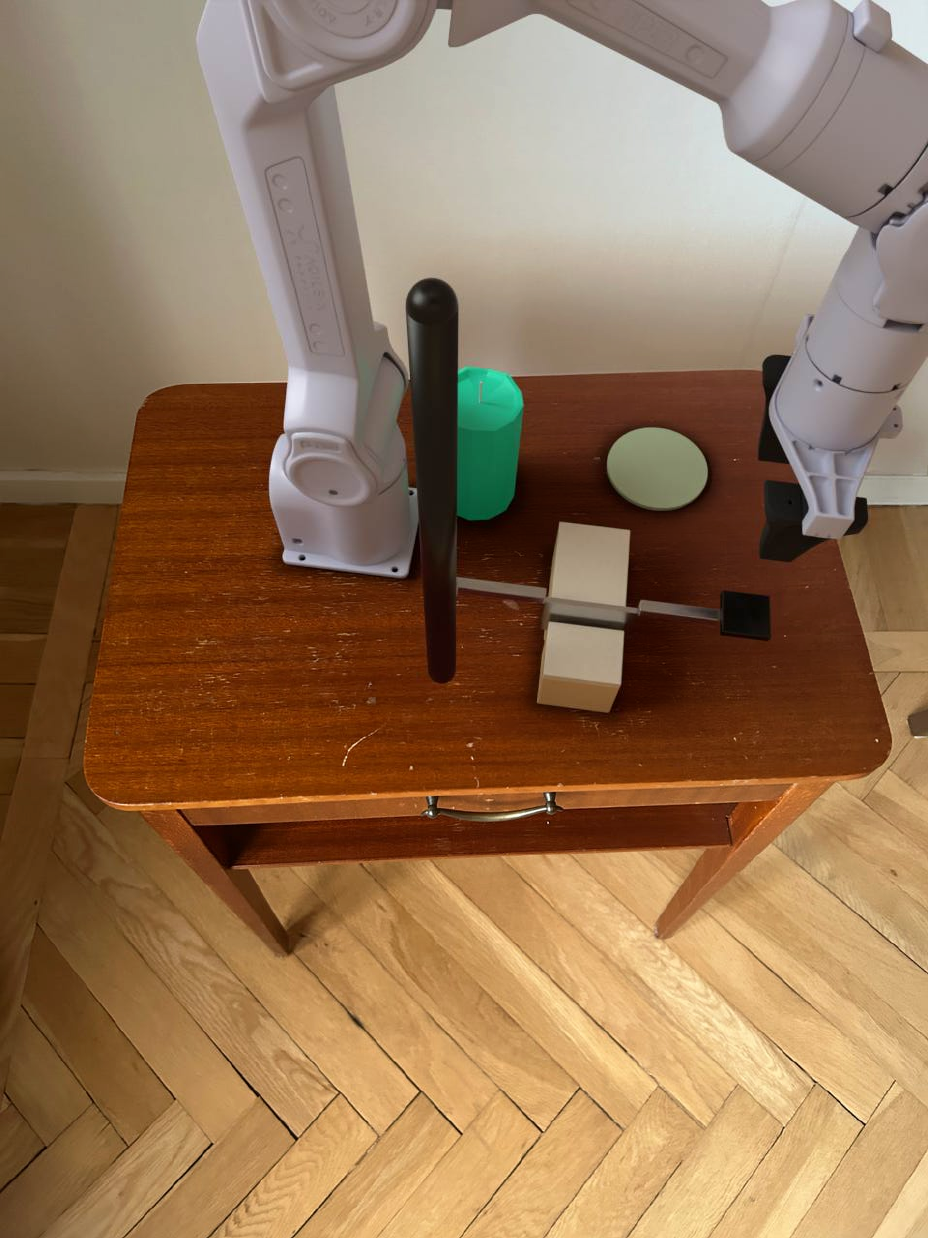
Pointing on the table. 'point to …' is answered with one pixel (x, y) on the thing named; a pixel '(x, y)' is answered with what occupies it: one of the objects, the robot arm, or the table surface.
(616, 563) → the tall beige cuboid
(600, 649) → the beige block
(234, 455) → the table surface
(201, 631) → the table surface
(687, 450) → the plate
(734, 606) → the black upright rod
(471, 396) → the candle
